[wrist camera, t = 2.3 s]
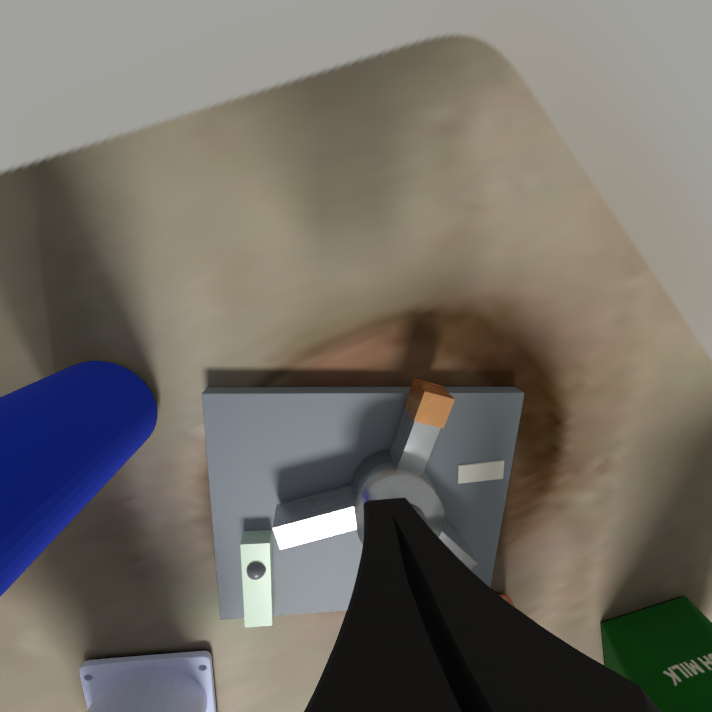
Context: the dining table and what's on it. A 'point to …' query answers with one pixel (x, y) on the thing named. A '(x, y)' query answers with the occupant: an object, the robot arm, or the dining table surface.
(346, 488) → the capstan
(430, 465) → the stand board
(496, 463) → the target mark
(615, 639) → the milk carton
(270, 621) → the level vial
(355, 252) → the dining table surface
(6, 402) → the beverage can
